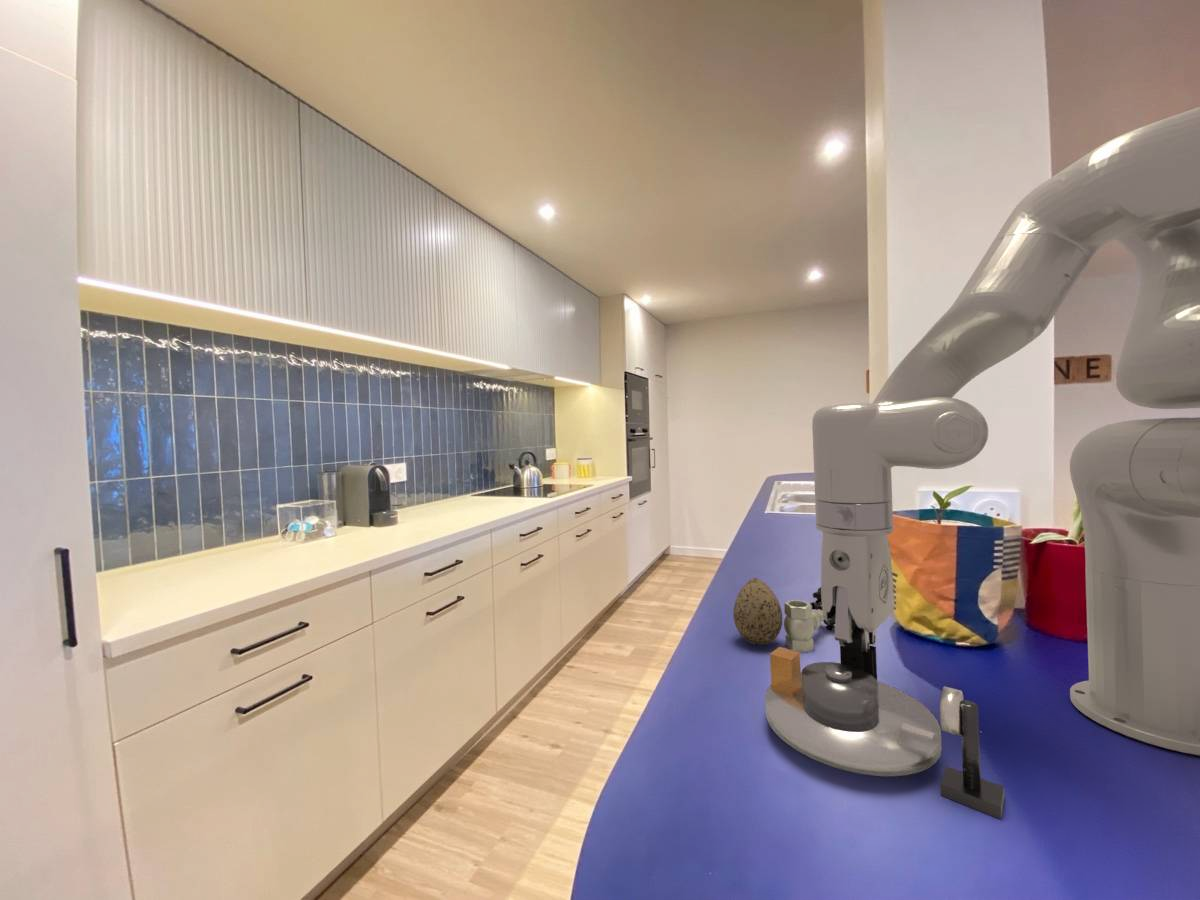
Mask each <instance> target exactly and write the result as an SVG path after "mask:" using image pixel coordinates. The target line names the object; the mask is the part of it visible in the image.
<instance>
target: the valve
mask: <svg viewBox="0 0 1200 900" xmlns="http://www.w3.org/2000/svg"><path fill="white" fill-rule="evenodd" d="M812 598H813V599H816V600H815V601H812V602H810V603H809V602H808V601H804V600H799V599H791V600H788V601H786V602H784V603H783V604H784V615H785V617H784V620H783V628H784V631H785V633H786V634H785V646H786V645H787V646H788V647H787V646H786V647H787V648H789V650H793V651H796V652H800V653H809V652H811V651H812V650H814V637H813V635H814V631H816V630H817V629H819V628H820V626H821V624H822V622H823V624H824V625H826V626H825V629H826V630H827V631H830V632H831V631H832V632H833V631H835V621H834V622H833V623H831V624H830V623H828V622H827V621H826V620H825V619H824V617H823V611H822V604H821V602H822V599H821V593H820V592H818V590H817V591H815V592H813V593H812Z"/></svg>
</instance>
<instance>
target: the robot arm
mask: <svg viewBox="0 0 1200 900" xmlns="http://www.w3.org/2000/svg"><path fill="white" fill-rule="evenodd" d="M1115 240H1116V241H1117V242H1118V243H1119V244H1120V245H1121V246H1123V248H1125V250H1127V252H1128V253H1129V255H1131V257H1132V258H1133V260H1134V261H1135V262H1136V264H1137V266H1138V270H1139V273H1140V287H1139V291H1138V296H1137V300H1136V304H1135V307H1134V309H1133V310H1134V311H1133V314H1132V317H1131V320H1130V323H1129V327H1128V330H1127V334H1126V336H1125V340H1124V343H1123V346H1122V350H1121V353H1120V356H1119V360H1118V363H1117V368H1116V373H1115V379H1116V380H1115V381H1116V383H1115V384H1116V388H1117V390H1118V392H1119V394H1120V395H1121V397H1123V398H1124V400H1126V401H1128V402H1129V403H1132V404H1133V405H1137V406H1139V407H1144V408H1148V409H1156V410H1159V409H1161V410H1185V409H1200V106H1199V107H1195V108H1192V109H1190V110H1186V111H1184V112H1181V113H1177V114H1176V115H1175V114H1174V115H1172V116H1169V117H1167V118H1164V119H1161V120H1158V121H1155V122H1152V123H1149V124H1146V125H1144V126H1141V127H1139V128H1136V129H1133V130H1130V131H1128V132H1125V133H1123V134H1121V135H1118V136H1117V137H1114V138H1112V139H1110V140H1108V141H1106V142H1105V143H1103V144H1101V145H1099V146H1098V147H1096V148H1095V149H1093V150H1092V151H1090V152H1088V153H1087V154H1085V155H1084V156H1082V157H1080V158H1079V159H1078V160H1076V161H1074V162H1073V163H1072V164H1070V165H1068V166H1067V167H1065V168H1064V169H1062V170H1061V171H1059V172H1057V173H1056V174H1054V175H1053V176H1051V177H1050V178H1048V179H1047V180H1046V181H1044V182H1043V183H1040V184H1039V185H1038V186H1037V187H1035V188H1034V189H1032V190H1031V191H1030V192H1029V193H1028V194H1027V195H1025V196H1024V198H1022V199H1021V200H1020V201H1019V202H1018V204H1017V205H1015V207H1014V208H1013V210H1012V211H1011V213H1010V215H1009V216H1008V217H1007V219H1006V221H1005V222H1004V224H1002V227H1001V228H1000V230H999V232H998V233H997V235H996V237H995V238H994V240H993V241H992V242H991V244H990V246H989V247H988V250H987V251H986V252H985V254H984V255H983V257H982V259H981V260H980V261H979V263H978V265H977V267H976V268H975V270H974V271H973V273H972V275H971V276H970V277H969V280H968V281H967V283H965V286H964V287H963V289H962V290H961V292H960V293H959V295H958V296H957V298H956V299H955V301H954V302H953V303H952V305H951V307H949V308H948V309H947V311H946V312H945V313H944V314H943V315H942V316H941V317H940V318H939V319H938V320H937V321H936V322H935V324H933V325H932V326H931V328H929V330H928V331H927V332H926V334H925V335H924V336H923V337H922V338H921V339H920V340H919V341H918V342H917V344H915V346H914V347H913V348H912V349H911V350H910V351H909V352H908V353H907V354H906V355H905V356H904V357H903V359H902V360H901V361H900V362H899V363H898V364H897V366H896V368H894V370H893V371H892V372H891V374H890V375H889V376H888V378H887V379H886V381H885V382H884V384H883V386H882V388H881V389H880V391H879V392H878V394H877V395H876V397H875V398H874V400H873V401H872V403H870V402H864V403H863V402H861V403H859V402H858V403H847V404H846V403H845V404H843V403H841V404H834V405H833V404H832V405H827V406H824V407H821V408H818V409H817V410H816V411H815V412H814V415H813V417H812V425H811V426H812V427H811V429H812V449H813V451H812V453H813V454H812V455H813V477H814V482H813V483H814V504H815V506H814V507H815V528H816V530H818V531H820V532H822V540H821V555H820V556H821V562H820V567H821V569H820V587H821V599H822V604H821V606H822V611H823V617H824V619H825V620H826V621H827V622H828V623H830V624H831V623H833V622H834V621H835V624H834V625H835V629H834V639H835V640H834V641H838V644H839V652H840V658H839V659H840V663H841V664H846V665H850V666H853V667H856V668H859V669H861V670H863V671H865V672H867V673H869V674H870V675H872V676H873V677H874V678H875V679H876V681H878V673H877V672H878V669H877V668H878V666H877V646H875V644H876V643H877V642H876V640H877V639H876V638H877V634H876V633H877V632H876V631H877V629H878V628H879V627H880V626H881V625H882V624H884V622H885V621H886V620H887V619H888V618H889V616H890V615H891V614H892V613H893V612H894V610H895V605H896V604H895V590H894V579H893V565H892V556H891V548H890V541H889V535H888V534H892V533H893V532H894V517H893V515H894V513H893V489H892V488H893V486H892V485H893V483H892V468H894V467H908V468H917V469H918V468H919V469H926V470H928V469H929V470H945V469H952V468H956V467H960V466H962V465H964V464H966V463H968V462H970V461H972V460H973V459H975V458H976V457H977V456H978V455H979V454H980V453H981V452H982V451H983V450H984V447H985V446H986V444H987V442H988V437H989V427H988V426H989V425H988V423H987V420H986V418H985V417H984V415H983V413H982V412H981V411H980V410H979V409H978V408H976V407H975V405H972V404H971V403H969V402H966V401H964V400H962V399H958V398H954V397H955V395H957V393H958V392H959V391H961V389H962V388H963V387H965V386H966V385H967V384H968V383H969V382H971V381H972V380H973V379H974V378H976V377H977V376H979V375H980V374H982V373H984V372H985V371H987V370H989V368H992V367H993V366H995V365H997V364H999V363H1001V362H1002V361H1004V360H1006V359H1007V358H1010V357H1011V356H1013V355H1014V354H1016V353H1018V352H1019V351H1021V350H1022V349H1023V348H1025V347H1026V346H1028V345H1029V344H1030V343H1032V342H1033V341H1034V340H1035V339H1037V338H1038V337H1039V336H1041V334H1042V333H1044V331H1045V330H1046V329H1048V326H1049V325H1050V323H1051V321H1052V320H1053V319H1054V317H1055V315H1056V314H1057V312H1058V310H1059V309H1060V308H1061V307H1062V305H1063V303H1064V301H1065V300H1066V298H1067V297H1068V296H1069V293H1070V292H1071V290H1072V289H1073V287H1074V286H1075V284H1076V282H1077V281H1078V279H1079V278H1080V276H1081V275H1082V274H1083V272H1084V270H1085V269H1086V268H1087V266H1088V265H1089V263H1090V262H1091V260H1092V258H1093V257H1094V255H1095V254H1096V253H1097V251H1099V250H1100V249H1101V248H1102V247H1103V246H1104V245H1106V244H1108V243H1110V242H1112V241H1115ZM1069 474H1070V480H1071V483H1072V487H1073V489H1074V493H1075V497H1076V500H1077V503H1078V506H1079V510H1080V515H1081V521H1082V528H1083V537H1084V555H1085V558H1084V559H1085V565H1084V566H1085V569H1084V570H1085V599H1086V626H1087V659H1088V680H1083V681H1080V682H1076V683H1074V684H1073V685H1071V687H1070V689H1069V691H1070V692H1069V699H1070V700H1071V701H1070V702H1071V704H1072V705H1074V707H1075V708H1076V709H1077V710H1078V711H1080V713H1082V714H1083V715H1084V716H1086V717H1088V718H1089V719H1091V720H1092V721H1095V722H1096V723H1098V724H1100V725H1101V726H1104V727H1106V728H1108V729H1110V730H1112V731H1114V732H1117V733H1119V734H1122V735H1124V736H1126V737H1128V738H1131V739H1135V740H1137V741H1140V742H1143V743H1146V744H1150V745H1153V746H1155V747H1156V746H1157V747H1159V748H1162V749H1167V750H1171V751H1176V752H1179V753H1183V754H1187V755H1188V754H1189V755H1195V756H1199V757H1200V417H1169V418H1166V417H1165V418H1162V417H1161V418H1147V419H1146V418H1145V419H1144V418H1143V419H1142V418H1141V419H1134V420H1133V419H1131V420H1124V421H1123V420H1122V421H1119V422H1115V423H1114V422H1113V423H1111V424H1106V425H1103V426H1100V427H1098V428H1096V429H1094V430H1092V431H1090V432H1089V433H1087V434H1086V435H1084V436H1083V437H1082V438H1081V439H1080V440H1079V441H1078V442H1077V443H1076V445H1075V446H1074V448H1073V451H1071V456H1070V460H1069Z"/></svg>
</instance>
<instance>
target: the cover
mask: <svg viewBox="0 0 1200 900" xmlns="http://www.w3.org/2000/svg"><path fill="white" fill-rule="evenodd" d="M801 672H802V692H803V708H804V710H805V712H806V713H807V715H808V716H809V717H811V718H812V719H813V720H815V721H816V722H818V723H820V724H822V725H824V726H827V727H829V728H833V729H836V730H841V731H847V732H864V731H869V730H871V729H874V728H875V727H876V726H877V725H878V724H879V698H878V683H877V681H878V680H877V681H876V679H875V678H874V677H873V676H872V675H870V674H869V673H867V672H865V671H863V670H861V669H859V668H856V667H853V666H850V665H846V664H841V662H840V663H839V662H834V661H830V662H829V661H825V662H824V661H822V662H821V661H820V662H819V661H818V662H814V663H810V664H807V665H805V666H804V667H803V669H802V670H801Z"/></svg>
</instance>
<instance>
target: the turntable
mask: <svg viewBox="0 0 1200 900" xmlns="http://www.w3.org/2000/svg"><path fill="white" fill-rule="evenodd" d="M769 659H770V660H769V661H770V685H769V686H768V687H767V689H766V691H765V695H764V696H765V697H764V700H765V701H764V702H765V716H766V719H767V720H766V721H767V722H768V724H769V726H770V727H771V729H772V730H773V732H774V733H775V734H776V735H777V736H778V737H779V738H780V739H781V740H782V741H783V742H784V743H786V744H787V745H789V746H790V747H791V748H793V749H794V750H796V751H797V752H799V753H801V754H802V755H804V756H806V757H808V758H811V759H813V760H814V761H817V762H819V763H822V764H824V765H827V766H829V767H832V768H836V769H839V770H843V771H847V772H850V773H854V774H855V773H856V774H861V775H866V776H867V775H868V776H875V777H876V776H877V777H878V776H879V777H898V776H899V777H901V776H908V775H913V774H918V773H920V772H923V771H925V770H927V769H929V768H931V767H932V766H934V765H935V764H936V763H937V762H938V760H939V758H940V757H941V754H942V729H941V725H940V722H939V721H938V719H937V718H936V717H935V715H934V714H933V713H932V711H930V710H929V708H927V707H926V706H925V705H924V704H923V703H921V702H920V701H919V700H917V699H916V698H915V697H913V696H912V695H909V694H908V693H906V692H904V691H902V690H900V689H898V688H895V687H893V686H891V685H889V684H886V683H883V682H880V681H878V680H877V683H878V698H879V724H878V725H877V726H876V727H875V728H874V729H871V730H869V731H864V732H847V731H841V730H836V729H833V728H829V727H827V726H824V725H822V724H820V723H818V722H816V721H815V720H813V719H812V718H811V717H809V716H808V715H807V713H806V712H805V710H804V708H803V692H802V670H801V652H799V651H793V650H791V649H790V648H789V649H788V648H785V647H780V646H778V647H777V648H776V649H775V650H773V651H772V652H770V654H769Z"/></svg>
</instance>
